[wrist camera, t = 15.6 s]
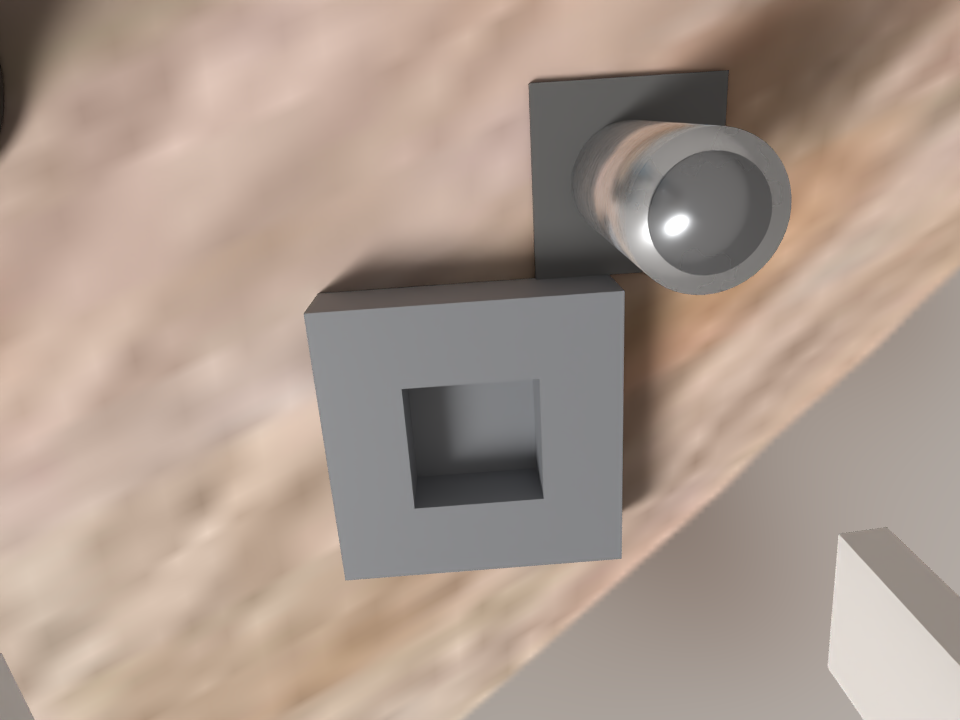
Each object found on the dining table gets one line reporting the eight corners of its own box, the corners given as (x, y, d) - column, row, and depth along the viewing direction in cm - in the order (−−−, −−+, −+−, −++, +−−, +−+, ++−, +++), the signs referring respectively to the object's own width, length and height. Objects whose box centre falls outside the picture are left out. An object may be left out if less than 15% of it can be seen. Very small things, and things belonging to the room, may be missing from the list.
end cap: (569, 123, 35) (628, 132, 23) (687, 115, 35) (802, 120, 23) (572, 241, 37) (626, 302, 25) (682, 233, 37) (786, 290, 25)
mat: (528, 83, 34) (529, 83, 34) (725, 70, 35) (728, 70, 34) (535, 277, 38) (536, 279, 37) (714, 265, 38) (717, 266, 38)
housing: (318, 293, 38) (303, 313, 34) (607, 272, 38) (624, 290, 34) (354, 539, 43) (345, 580, 39) (606, 519, 43) (621, 558, 40)
